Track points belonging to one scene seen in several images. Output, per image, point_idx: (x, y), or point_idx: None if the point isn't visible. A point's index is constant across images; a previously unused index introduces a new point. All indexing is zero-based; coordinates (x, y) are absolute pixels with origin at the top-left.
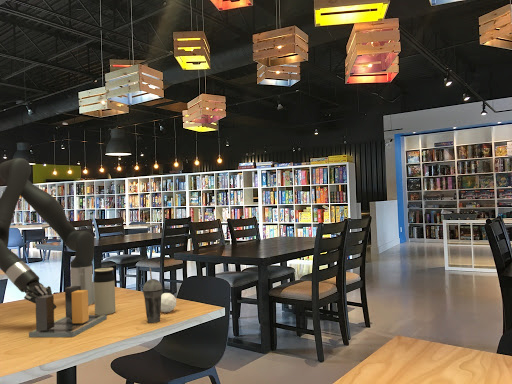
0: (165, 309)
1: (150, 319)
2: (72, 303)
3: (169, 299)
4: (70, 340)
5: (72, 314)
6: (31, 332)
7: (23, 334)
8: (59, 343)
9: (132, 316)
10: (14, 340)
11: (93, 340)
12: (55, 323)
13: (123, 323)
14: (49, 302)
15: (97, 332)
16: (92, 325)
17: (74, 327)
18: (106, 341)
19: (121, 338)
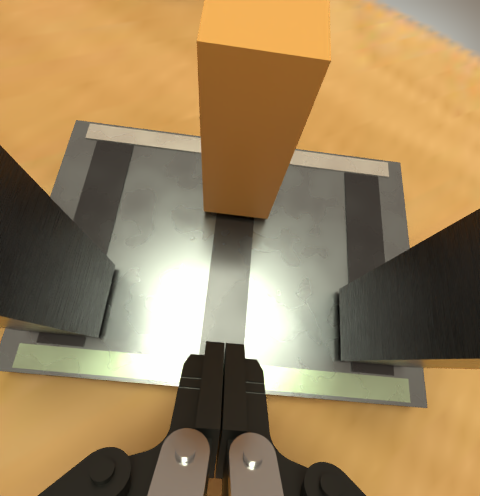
0: None
1: None
2: (297, 140)
3: None
4: (427, 165)
5: (277, 191)
6: (422, 391)
7: (364, 491)
8: (468, 191)
9: (69, 42)
10: (474, 463)
11: (415, 89)
12: (234, 341)
13: (192, 50)
14: None
15: (319, 106)
16: None
17: (319, 188)
18: (419, 50)
19: (385, 19)
